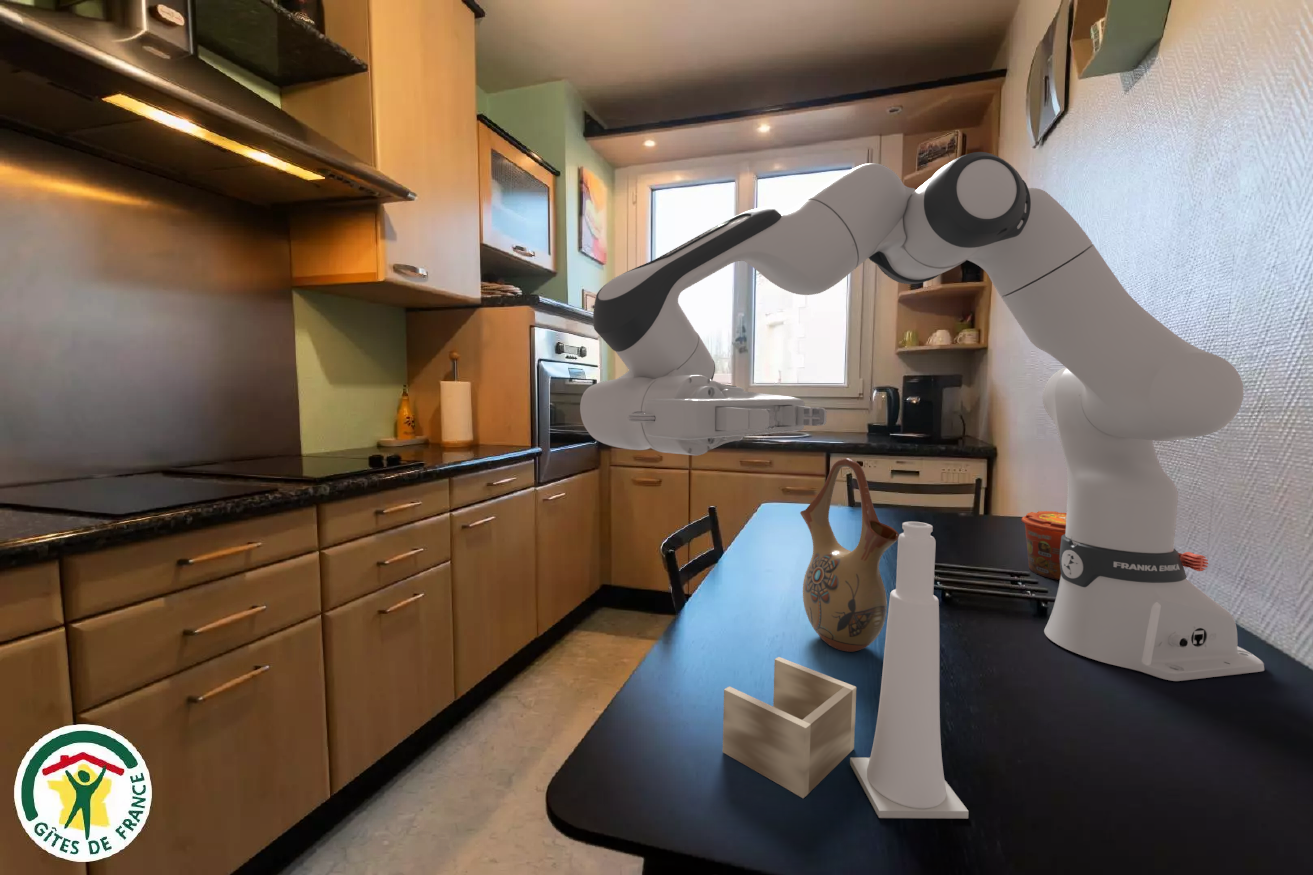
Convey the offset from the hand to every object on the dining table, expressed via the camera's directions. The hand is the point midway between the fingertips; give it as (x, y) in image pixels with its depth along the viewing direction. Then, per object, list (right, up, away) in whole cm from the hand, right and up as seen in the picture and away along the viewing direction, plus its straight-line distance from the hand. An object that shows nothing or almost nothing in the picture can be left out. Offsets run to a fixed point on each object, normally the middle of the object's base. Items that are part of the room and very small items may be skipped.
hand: (798, 418), depth 52 cm
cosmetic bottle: (+7, -31, -6) cm, 32 cm away
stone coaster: (+8, -31, -5) cm, 33 cm away
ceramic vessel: (+11, -30, +22) cm, 39 cm away
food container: (+65, -28, +53) cm, 89 cm away
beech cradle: (-2, -31, 0) cm, 31 cm away
